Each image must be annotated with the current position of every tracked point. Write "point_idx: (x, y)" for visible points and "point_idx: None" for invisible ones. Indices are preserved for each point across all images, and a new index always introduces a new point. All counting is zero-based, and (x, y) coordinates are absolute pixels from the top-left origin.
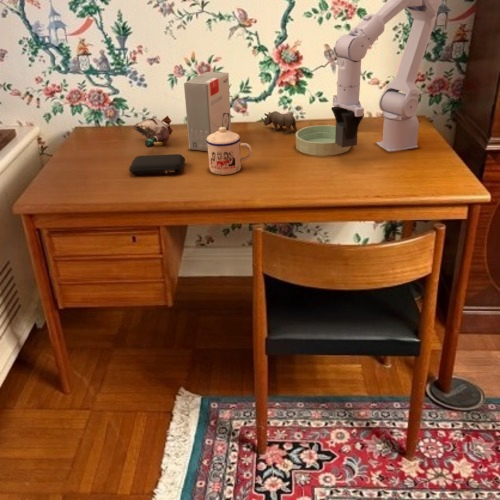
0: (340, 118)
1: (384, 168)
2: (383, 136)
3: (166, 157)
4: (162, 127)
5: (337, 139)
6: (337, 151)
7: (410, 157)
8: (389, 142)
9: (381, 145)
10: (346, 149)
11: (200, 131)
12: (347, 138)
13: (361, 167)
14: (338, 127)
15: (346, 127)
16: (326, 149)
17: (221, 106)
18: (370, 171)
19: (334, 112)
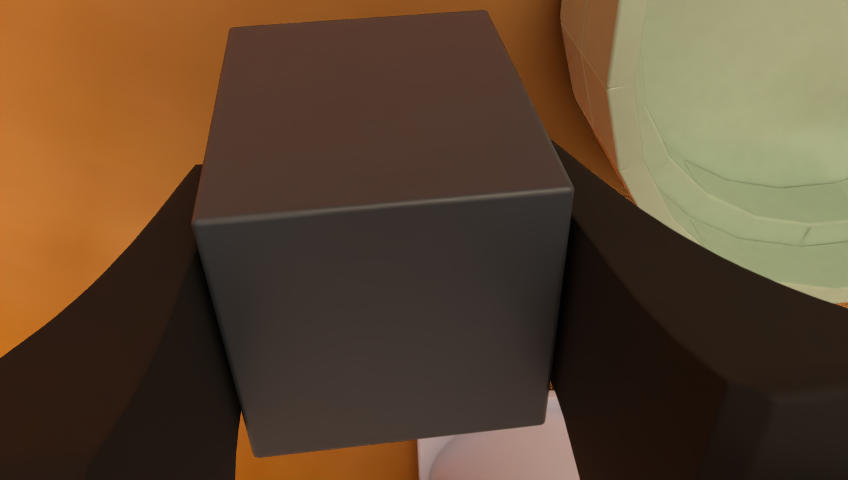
0: (598, 334)
1: (78, 287)
2: (562, 473)
3: None
4: None
5: (412, 46)
6: (570, 26)
7: (278, 477)
8: (479, 465)
9: (548, 401)
10: (598, 140)
11: None
12: (189, 173)
13: (137, 121)
14: (416, 167)
15: (105, 286)
16: None
17: None
18: (9, 163)
19: (743, 339)
